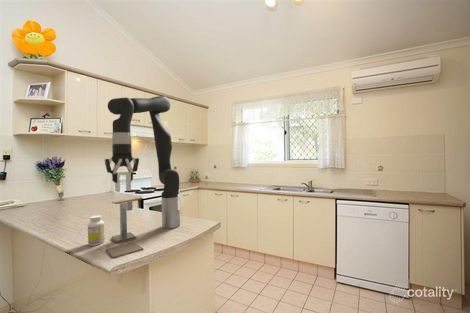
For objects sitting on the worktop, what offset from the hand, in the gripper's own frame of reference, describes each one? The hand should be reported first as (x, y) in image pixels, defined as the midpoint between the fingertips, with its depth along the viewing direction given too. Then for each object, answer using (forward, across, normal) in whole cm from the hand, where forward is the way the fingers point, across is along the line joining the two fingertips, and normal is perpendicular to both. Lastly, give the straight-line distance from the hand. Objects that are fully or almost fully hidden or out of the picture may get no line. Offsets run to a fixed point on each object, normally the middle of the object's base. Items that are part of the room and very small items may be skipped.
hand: (122, 181), depth 100 cm
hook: (+4, 0, 0) cm, 4 cm away
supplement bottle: (+30, +7, -18) cm, 36 cm away
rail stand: (+30, -4, -12) cm, 32 cm away
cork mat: (+30, 0, 0) cm, 30 cm away
